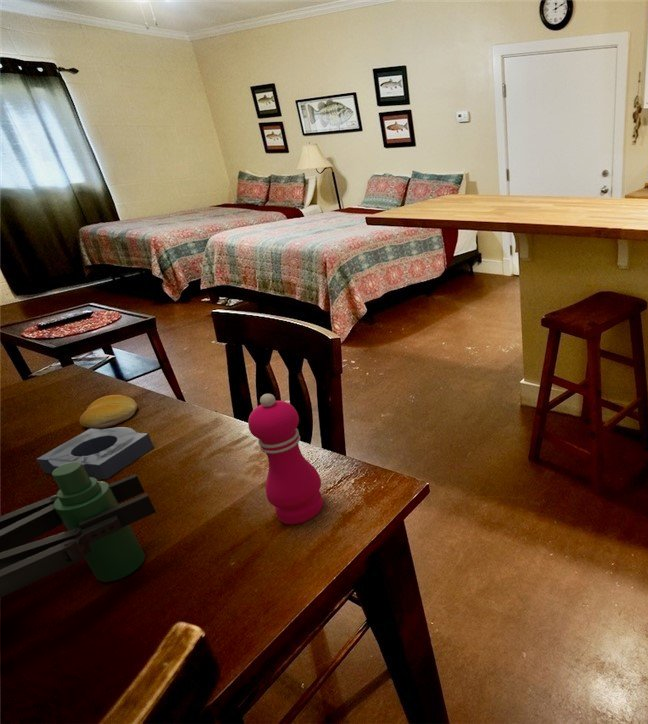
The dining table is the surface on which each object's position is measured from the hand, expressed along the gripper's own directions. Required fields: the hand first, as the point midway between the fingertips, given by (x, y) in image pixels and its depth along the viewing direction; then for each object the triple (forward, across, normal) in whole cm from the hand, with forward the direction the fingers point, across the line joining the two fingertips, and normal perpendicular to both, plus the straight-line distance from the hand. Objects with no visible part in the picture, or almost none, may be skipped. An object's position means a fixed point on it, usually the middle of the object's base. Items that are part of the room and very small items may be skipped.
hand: (145, 492), depth 61 cm
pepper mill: (+15, +7, -9) cm, 19 cm away
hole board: (-3, -32, -9) cm, 33 cm away
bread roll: (+1, -48, -9) cm, 49 cm away
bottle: (-5, 0, -9) cm, 10 cm away
